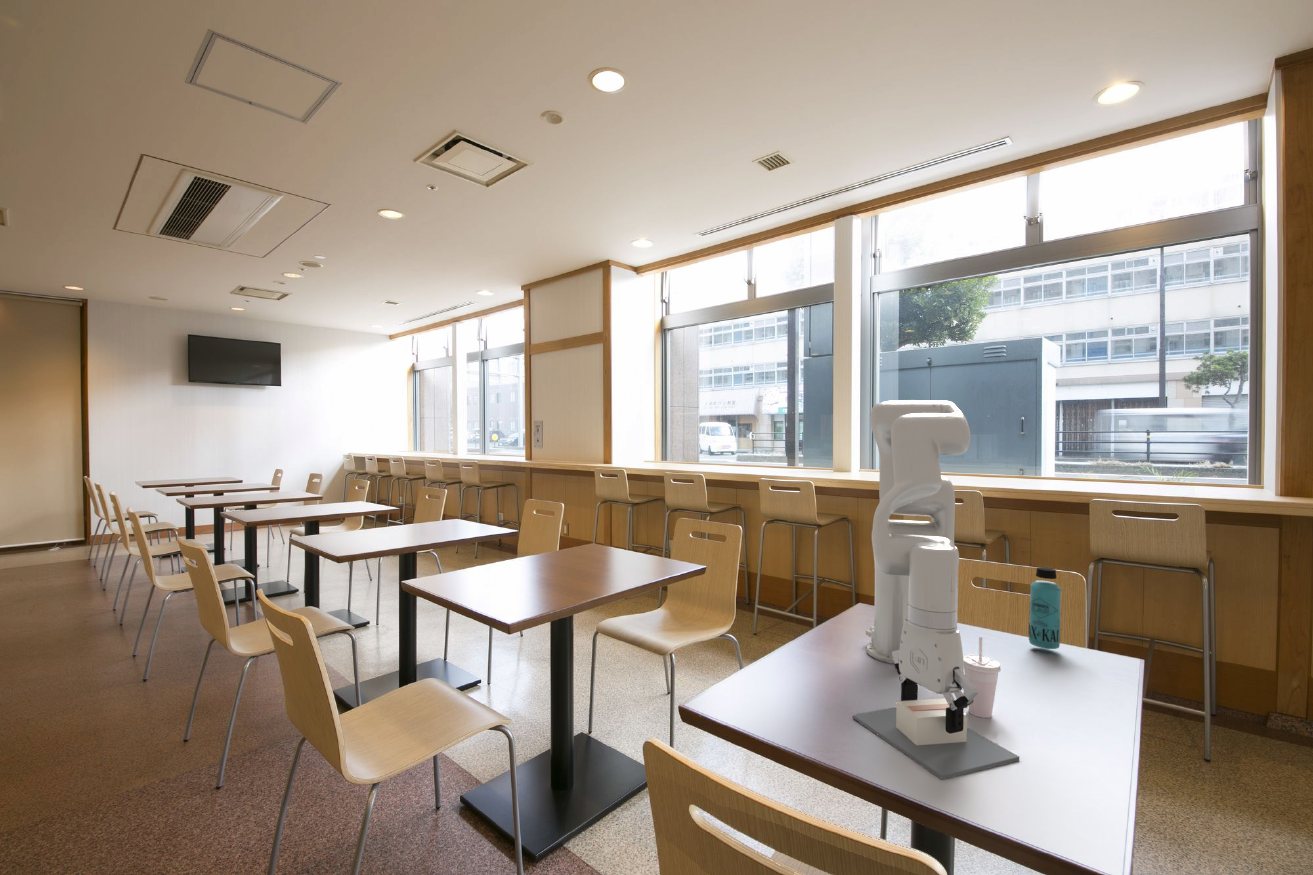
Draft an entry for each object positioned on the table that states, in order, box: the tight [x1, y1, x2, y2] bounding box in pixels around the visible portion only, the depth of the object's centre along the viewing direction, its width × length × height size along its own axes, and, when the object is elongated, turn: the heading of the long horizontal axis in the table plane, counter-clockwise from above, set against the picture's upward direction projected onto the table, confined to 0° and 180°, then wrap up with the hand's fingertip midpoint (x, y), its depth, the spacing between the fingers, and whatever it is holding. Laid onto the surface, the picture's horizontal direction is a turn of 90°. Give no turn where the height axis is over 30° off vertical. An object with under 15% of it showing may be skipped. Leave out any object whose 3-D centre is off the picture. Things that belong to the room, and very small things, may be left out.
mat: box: [852, 706, 1020, 780], centre depth 99 cm, size 20×16×1 cm
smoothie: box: [963, 635, 1002, 719], centre depth 109 cm, size 6×6×14 cm
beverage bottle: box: [1027, 566, 1062, 650], centre depth 142 cm, size 6×7×20 cm
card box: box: [895, 698, 968, 745], centre depth 99 cm, size 9×6×5 cm, turn 99°
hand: (930, 717), depth 99 cm, fingers open, 9 cm apart
